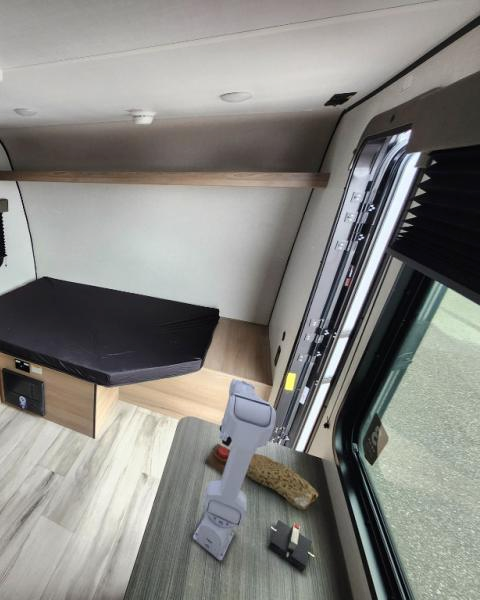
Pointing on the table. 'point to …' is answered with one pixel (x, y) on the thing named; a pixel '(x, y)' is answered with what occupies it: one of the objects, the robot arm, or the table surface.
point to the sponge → (282, 480)
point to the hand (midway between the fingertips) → (225, 443)
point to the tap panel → (281, 543)
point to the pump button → (223, 452)
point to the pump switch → (217, 460)
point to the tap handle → (293, 537)
